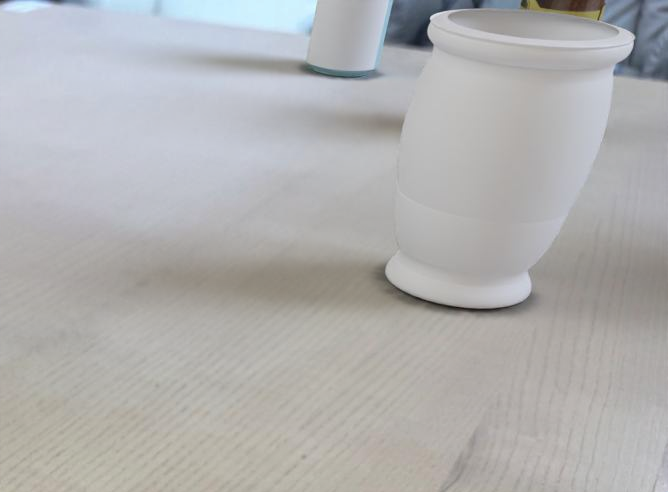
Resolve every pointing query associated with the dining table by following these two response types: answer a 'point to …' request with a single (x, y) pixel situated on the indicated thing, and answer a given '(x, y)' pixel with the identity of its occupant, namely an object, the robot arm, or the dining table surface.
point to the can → (348, 36)
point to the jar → (497, 149)
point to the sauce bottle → (567, 7)
